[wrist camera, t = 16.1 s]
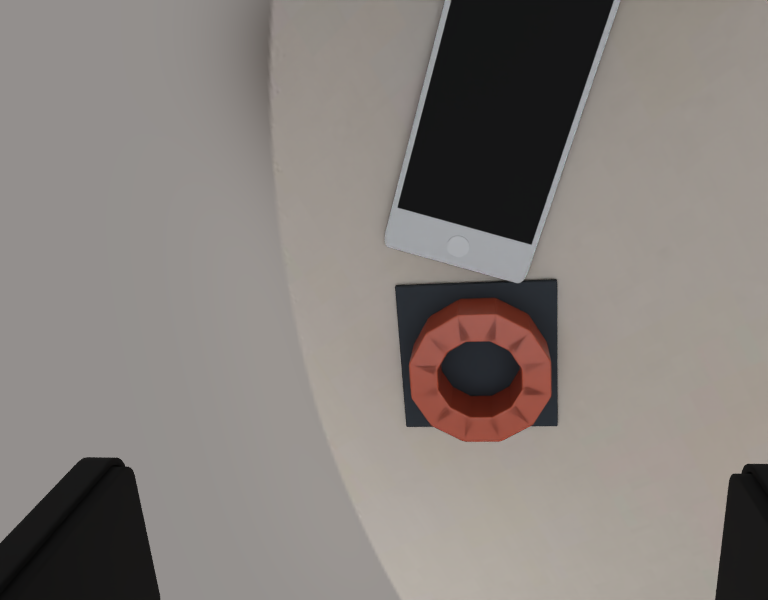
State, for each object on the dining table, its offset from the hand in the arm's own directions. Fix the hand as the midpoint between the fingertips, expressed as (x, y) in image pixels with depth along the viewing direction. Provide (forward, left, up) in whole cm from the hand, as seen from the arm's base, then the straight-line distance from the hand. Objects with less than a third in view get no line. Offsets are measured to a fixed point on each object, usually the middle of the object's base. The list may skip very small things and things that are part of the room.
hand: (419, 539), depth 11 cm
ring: (0, -8, -24) cm, 25 cm away
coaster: (0, -7, -25) cm, 26 cm away
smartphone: (+2, +5, -25) cm, 25 cm away
